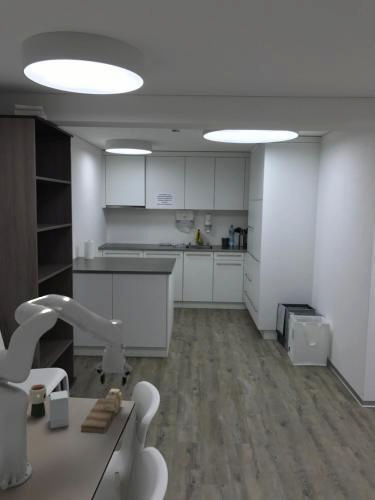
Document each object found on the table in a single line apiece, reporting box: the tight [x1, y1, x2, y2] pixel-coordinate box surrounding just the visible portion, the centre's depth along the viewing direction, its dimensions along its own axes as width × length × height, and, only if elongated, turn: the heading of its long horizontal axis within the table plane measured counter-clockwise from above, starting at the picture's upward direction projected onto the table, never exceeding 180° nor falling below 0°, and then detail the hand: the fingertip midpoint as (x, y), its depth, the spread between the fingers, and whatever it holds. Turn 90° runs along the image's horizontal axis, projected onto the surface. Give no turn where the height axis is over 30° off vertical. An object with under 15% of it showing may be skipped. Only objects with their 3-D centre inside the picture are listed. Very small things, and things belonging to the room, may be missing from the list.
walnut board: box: [80, 397, 116, 434], centre depth 174 cm, size 24×10×3 cm, turn 175°
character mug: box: [28, 383, 47, 418], centre depth 174 cm, size 11×7×13 cm, turn 23°
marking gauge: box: [105, 388, 123, 414], centre depth 179 cm, size 9×5×7 cm, turn 175°
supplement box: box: [49, 390, 69, 429], centre depth 168 cm, size 7×7×13 cm
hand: (113, 384), depth 178 cm, fingers open, 9 cm apart
